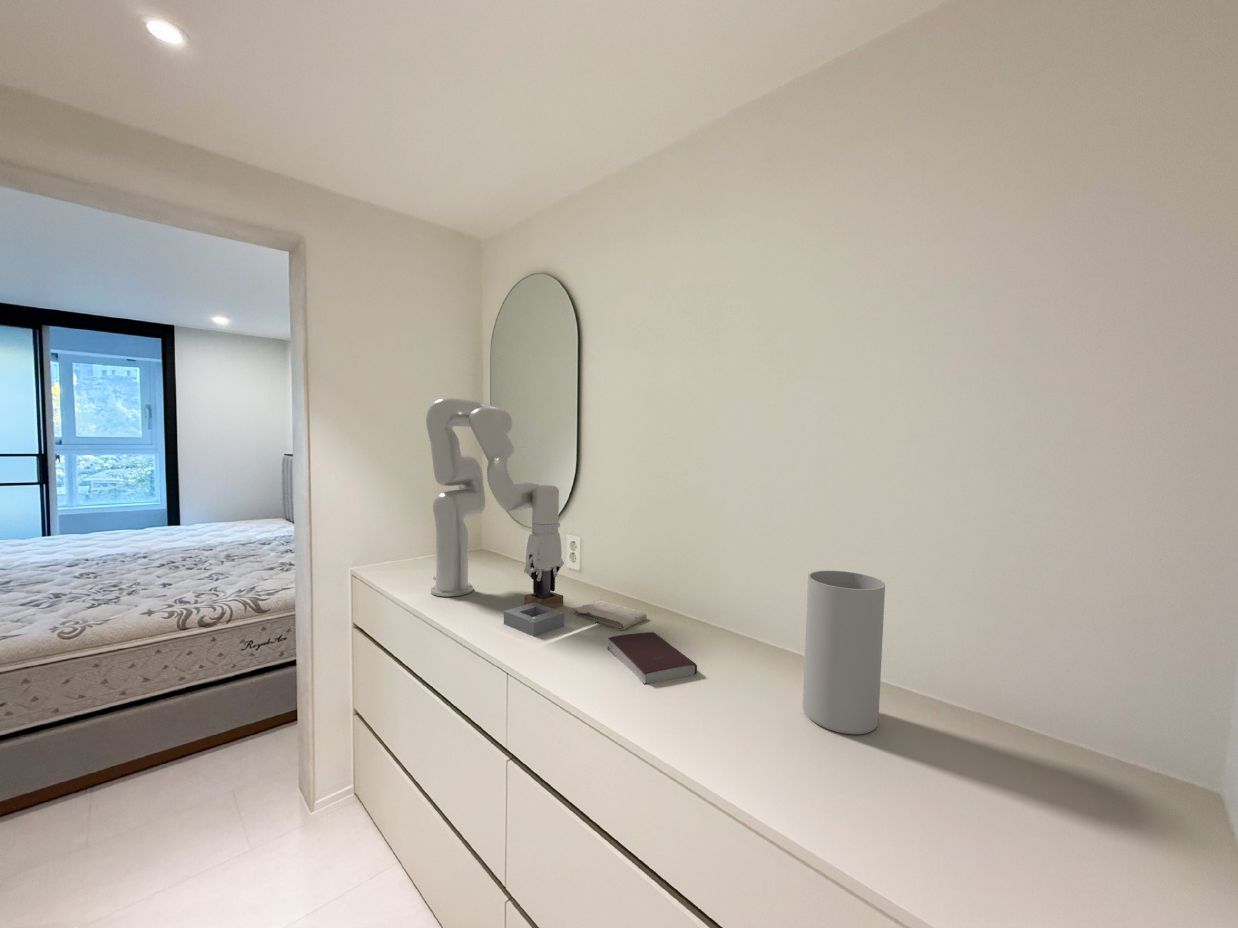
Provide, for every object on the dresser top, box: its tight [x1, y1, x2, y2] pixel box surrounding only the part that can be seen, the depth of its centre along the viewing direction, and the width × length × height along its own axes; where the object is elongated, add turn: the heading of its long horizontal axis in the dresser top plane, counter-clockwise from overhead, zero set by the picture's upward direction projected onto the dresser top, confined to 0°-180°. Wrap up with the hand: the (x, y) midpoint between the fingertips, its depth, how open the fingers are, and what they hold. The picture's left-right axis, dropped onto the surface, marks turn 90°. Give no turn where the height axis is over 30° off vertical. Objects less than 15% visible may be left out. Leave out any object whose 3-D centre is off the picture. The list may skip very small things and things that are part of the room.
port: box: [503, 602, 565, 637], centre depth 133 cm, size 12×10×4 cm
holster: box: [524, 591, 564, 609], centre depth 149 cm, size 8×8×4 cm
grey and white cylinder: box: [538, 568, 551, 599], centre depth 149 cm, size 4×4×12 cm
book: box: [607, 631, 698, 686], centre depth 115 cm, size 12×19×3 cm, turn 24°
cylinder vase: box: [802, 570, 886, 735], centre depth 93 cm, size 12×12×25 cm
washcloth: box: [573, 599, 648, 631], centre depth 142 cm, size 12×18×3 cm, turn 54°
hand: (544, 591), depth 149 cm, fingers open, 4 cm apart
